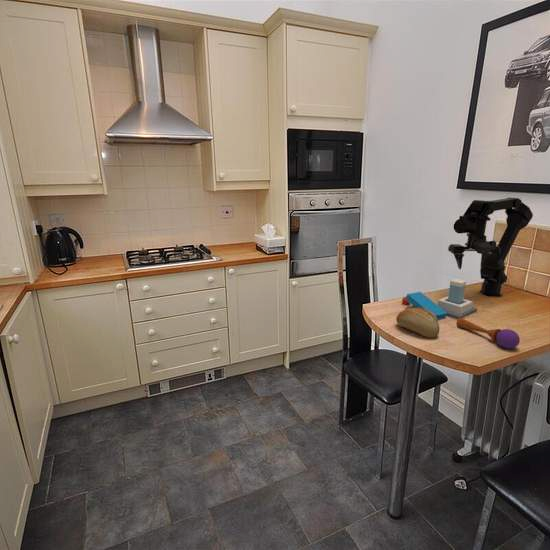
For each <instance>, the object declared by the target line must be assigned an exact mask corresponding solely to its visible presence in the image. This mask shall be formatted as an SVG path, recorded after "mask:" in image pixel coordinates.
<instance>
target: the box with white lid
mask: <svg viewBox="0 0 550 550" xmlns="http://www.w3.org/2000/svg"><path fill="white" fill-rule="evenodd" d="M449 281H450V283H449V288H448V290H449V291H448V295H447V296H448V302H451V303H455V304H458V305H460V304H462V303H463V299H465V298H464V297H465V291H466V287H467V281H466V280H461V279H458V278H454V279H451V280H449Z"/></svg>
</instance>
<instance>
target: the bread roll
mask: <svg viewBox="0 0 550 550" xmlns="http://www.w3.org/2000/svg"><path fill="white" fill-rule="evenodd" d="M395 320H396V323H397V325H399V326H400V327H403V328H405V329H407V330H409V331H412V332H413V333H416V334H419V335H421V336H423V337H425V338H430V339H431V338H432V339H433V338H437V337H438V335H439V333H440V323H439V321H438V320H439V319H437V318H436V316H435V315H434V313H432V312H431V311H429V310H427V309H425V308H421V307H414V306H412V307H407V308H405V309H404V310H402V311H400V312H399V313H398V314H397V316H396V319H395Z"/></svg>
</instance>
